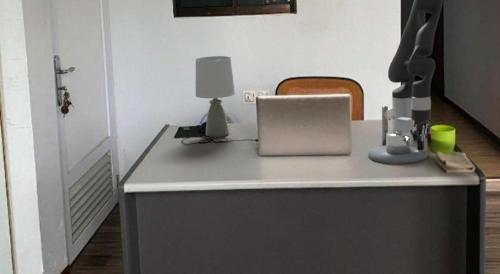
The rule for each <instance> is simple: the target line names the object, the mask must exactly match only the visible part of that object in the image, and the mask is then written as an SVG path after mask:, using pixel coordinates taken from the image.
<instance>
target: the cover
mask: <svg viewBox="0 0 500 274" xmlns="http://www.w3.org/2000/svg"><path fill="white" fill-rule="evenodd" d="M386 152H387V153H388V154H393V155H405V154H409V153H411V133H409V132H404V131H393V132H392V131H388V133H386Z"/></svg>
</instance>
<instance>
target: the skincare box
mask: <svg viewBox="0 0 500 274" xmlns="http://www.w3.org/2000/svg"><path fill="white" fill-rule="evenodd" d="M411 129H412V130H413V129H414V120H412V119H411V118H405V117H400V118H397V131H404V132H409V133H411V132H410V131H411ZM411 146H414V138H413V136H412V134H411Z"/></svg>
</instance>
